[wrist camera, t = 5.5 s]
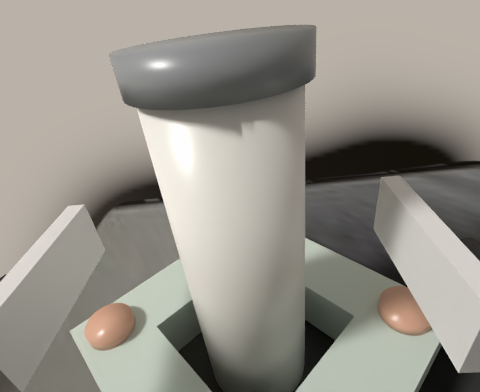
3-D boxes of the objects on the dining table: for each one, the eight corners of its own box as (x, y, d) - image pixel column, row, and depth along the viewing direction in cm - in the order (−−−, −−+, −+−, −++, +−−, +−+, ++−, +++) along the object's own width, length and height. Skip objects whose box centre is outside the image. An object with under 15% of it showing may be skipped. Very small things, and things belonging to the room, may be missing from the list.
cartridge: (256, 296, 21) (222, 30, 12) (331, 351, 17) (358, 20, 8) (186, 358, 17) (77, 55, 9) (260, 444, 14) (189, 57, 5)
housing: (254, 240, 25) (250, 205, 24) (440, 346, 16) (458, 302, 14) (90, 362, 18) (65, 324, 16) (268, 692, 9) (257, 693, 7)
